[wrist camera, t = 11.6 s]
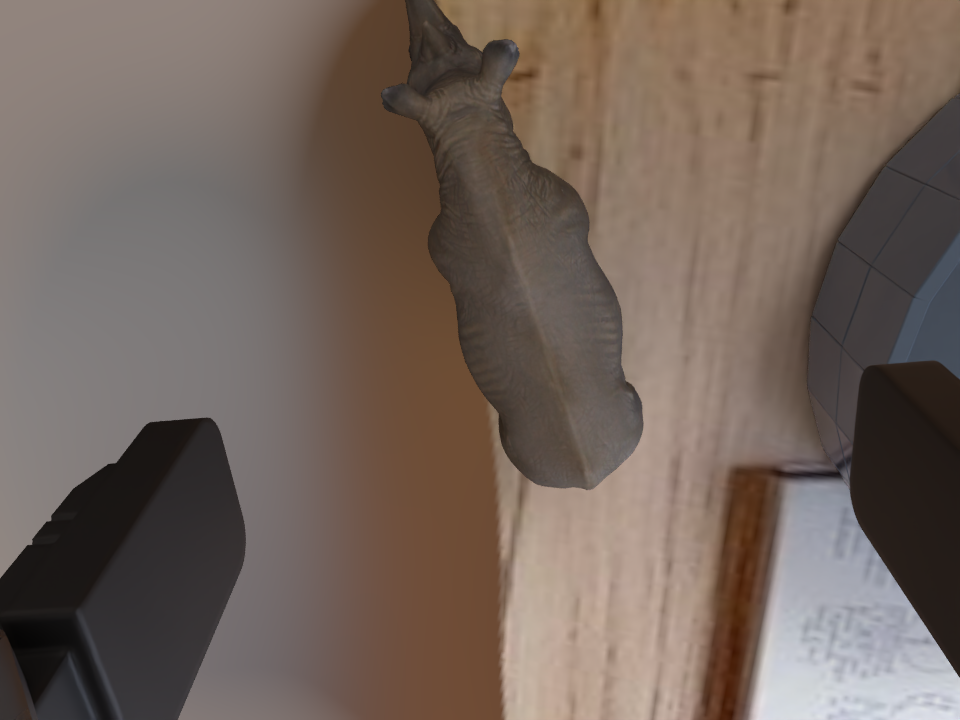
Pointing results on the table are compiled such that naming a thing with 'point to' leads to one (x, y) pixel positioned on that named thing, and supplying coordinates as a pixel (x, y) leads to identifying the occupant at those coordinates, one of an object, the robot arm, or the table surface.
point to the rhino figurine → (518, 267)
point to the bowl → (890, 281)
